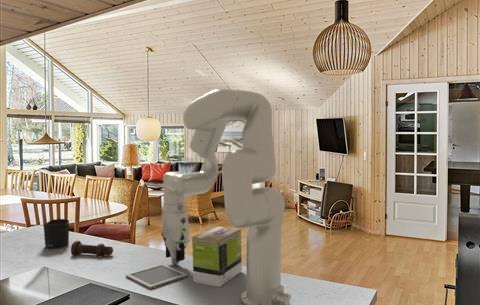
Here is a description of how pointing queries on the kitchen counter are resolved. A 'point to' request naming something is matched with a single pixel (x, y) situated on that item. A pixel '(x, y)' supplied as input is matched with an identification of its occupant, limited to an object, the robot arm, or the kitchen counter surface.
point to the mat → (156, 276)
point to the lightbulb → (172, 249)
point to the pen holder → (56, 233)
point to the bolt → (90, 249)
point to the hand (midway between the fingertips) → (175, 258)
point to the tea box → (216, 255)
